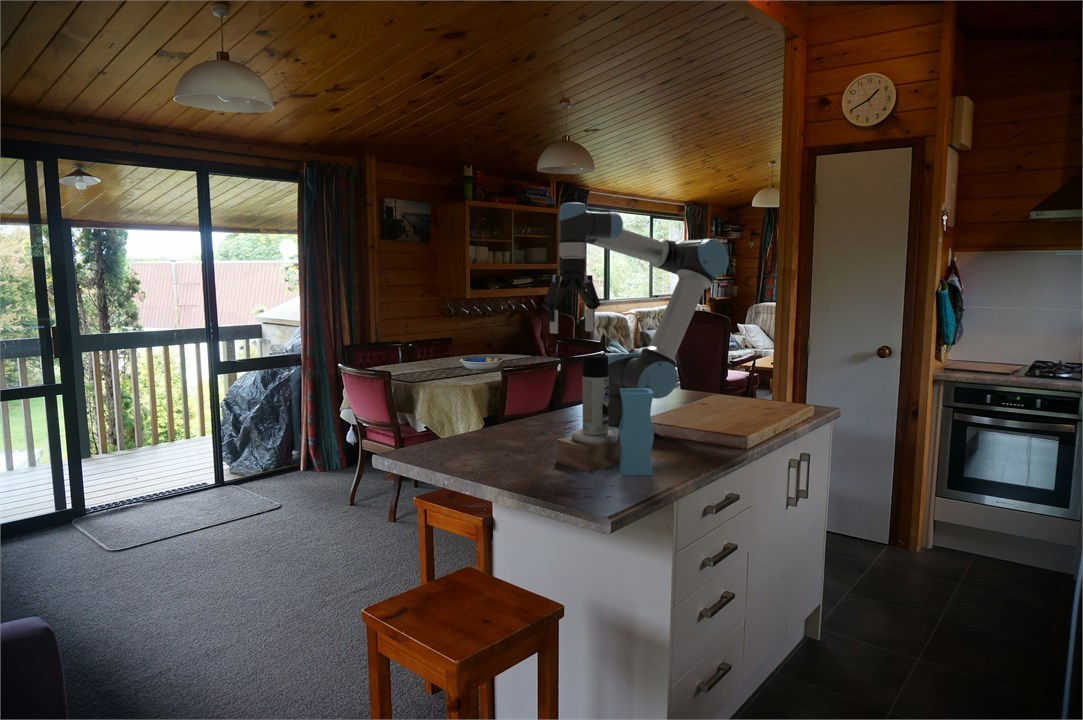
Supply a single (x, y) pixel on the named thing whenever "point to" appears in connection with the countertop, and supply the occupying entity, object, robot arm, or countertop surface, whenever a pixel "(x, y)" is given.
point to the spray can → (595, 395)
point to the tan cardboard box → (589, 450)
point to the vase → (636, 432)
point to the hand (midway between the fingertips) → (571, 332)
